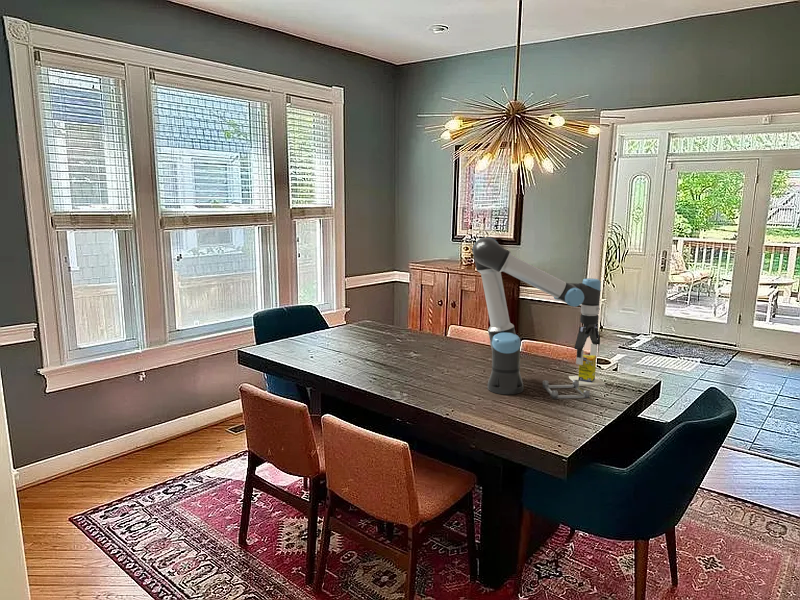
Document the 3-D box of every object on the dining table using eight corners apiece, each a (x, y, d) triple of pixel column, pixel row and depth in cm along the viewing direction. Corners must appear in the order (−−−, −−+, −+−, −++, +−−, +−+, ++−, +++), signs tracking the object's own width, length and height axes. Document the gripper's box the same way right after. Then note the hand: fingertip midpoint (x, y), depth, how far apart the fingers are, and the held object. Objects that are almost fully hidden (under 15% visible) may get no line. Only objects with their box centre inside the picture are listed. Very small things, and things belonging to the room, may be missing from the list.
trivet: (577, 386, 237) (577, 384, 237) (568, 377, 249) (568, 376, 249) (605, 385, 238) (605, 383, 237) (595, 377, 249) (595, 375, 249)
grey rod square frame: (552, 399, 222) (552, 392, 221) (542, 387, 237) (542, 380, 236) (590, 398, 222) (590, 391, 221) (577, 386, 237) (577, 379, 237)
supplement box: (578, 380, 242) (579, 356, 240) (581, 377, 247) (582, 353, 245) (592, 382, 239) (593, 358, 237) (595, 379, 244) (596, 355, 242)
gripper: (584, 319, 227) (581, 368, 230) (610, 311, 245) (606, 357, 248) (568, 316, 232) (565, 365, 236) (593, 309, 250) (590, 354, 253)
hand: (586, 361), depth 242 cm, fingers open, 13 cm apart
